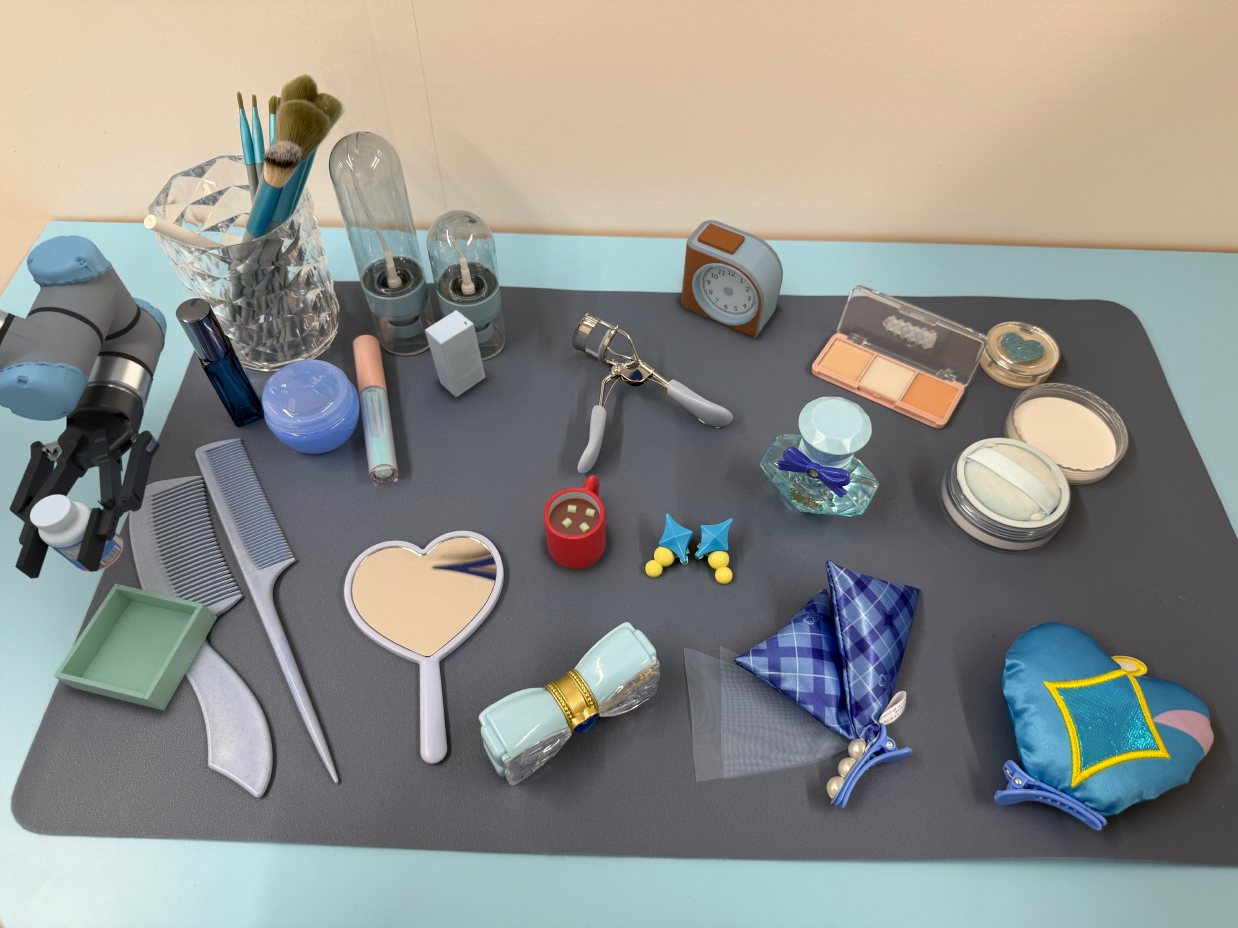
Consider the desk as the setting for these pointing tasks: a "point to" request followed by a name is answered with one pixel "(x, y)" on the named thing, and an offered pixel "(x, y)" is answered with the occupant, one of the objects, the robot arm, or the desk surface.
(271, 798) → the desk surface
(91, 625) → the tray
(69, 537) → the pill bottle
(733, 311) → the alarm clock
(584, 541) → the mug
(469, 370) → the cosmetic box
